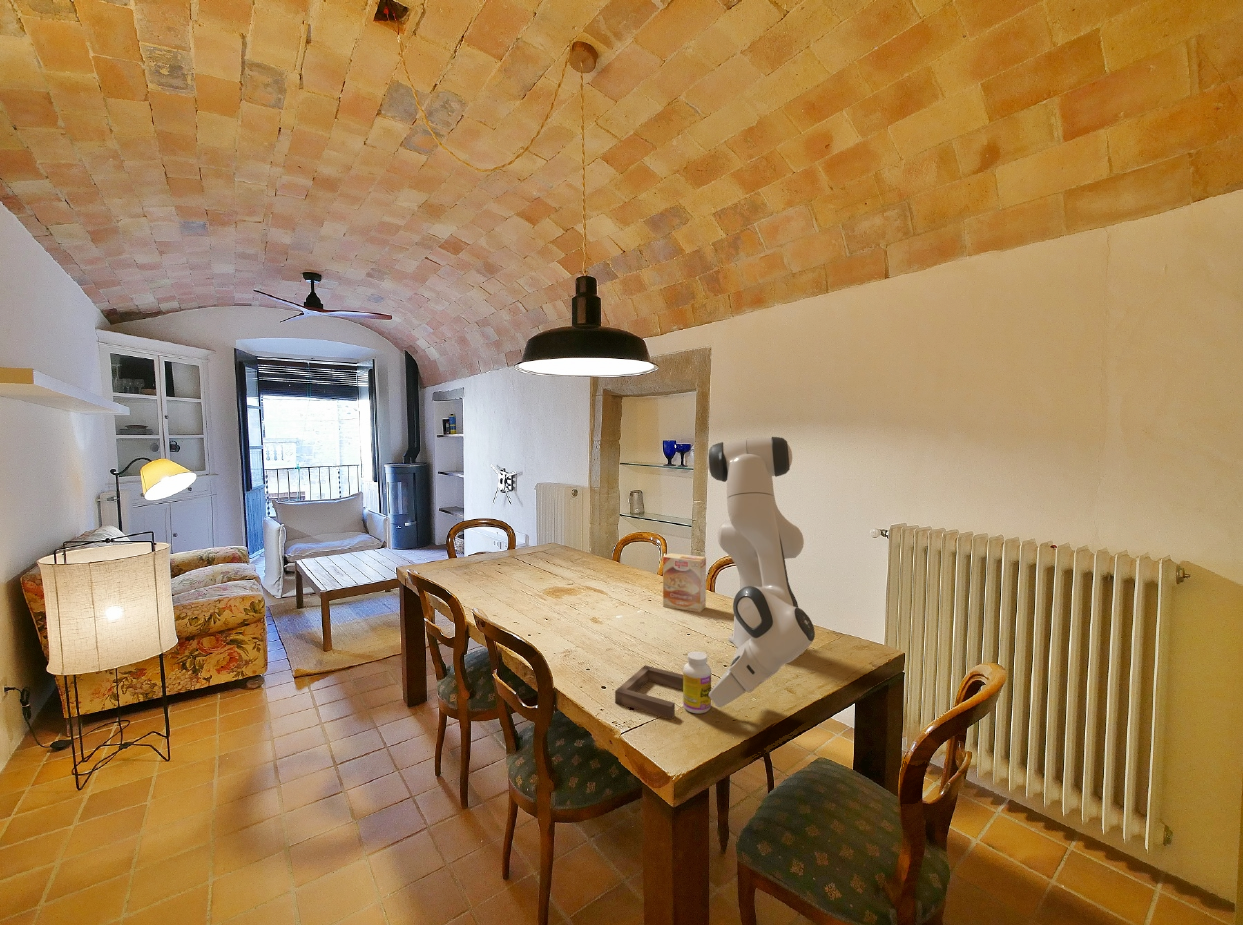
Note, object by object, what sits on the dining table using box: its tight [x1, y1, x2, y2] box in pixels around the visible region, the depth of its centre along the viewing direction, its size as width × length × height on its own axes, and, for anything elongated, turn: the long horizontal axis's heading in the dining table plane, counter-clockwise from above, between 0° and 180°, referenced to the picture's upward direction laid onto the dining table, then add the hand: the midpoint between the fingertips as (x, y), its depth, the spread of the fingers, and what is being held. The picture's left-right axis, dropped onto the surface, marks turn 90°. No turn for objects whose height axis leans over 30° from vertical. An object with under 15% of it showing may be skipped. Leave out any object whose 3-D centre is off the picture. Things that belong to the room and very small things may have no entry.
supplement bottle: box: [682, 650, 712, 714], centre depth 124 cm, size 7×7×13 cm
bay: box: [614, 664, 683, 720], centre depth 130 cm, size 16×15×3 cm
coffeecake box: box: [662, 552, 707, 613], centre depth 196 cm, size 15×7×20 cm, turn 64°
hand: (712, 693), depth 122 cm, fingers closed, pressing on supplement bottle
